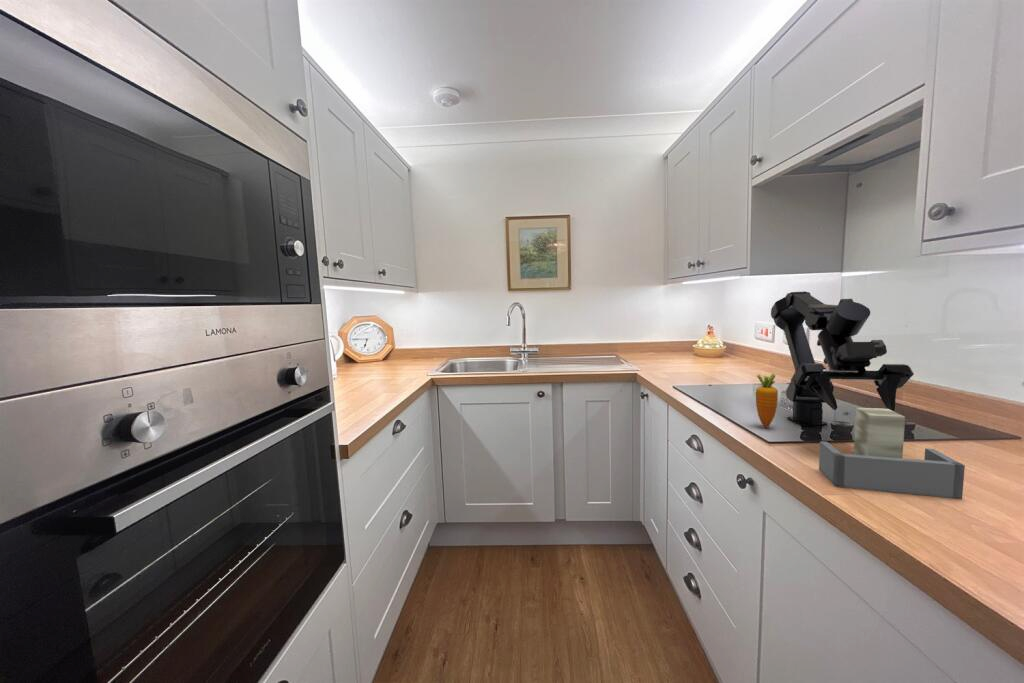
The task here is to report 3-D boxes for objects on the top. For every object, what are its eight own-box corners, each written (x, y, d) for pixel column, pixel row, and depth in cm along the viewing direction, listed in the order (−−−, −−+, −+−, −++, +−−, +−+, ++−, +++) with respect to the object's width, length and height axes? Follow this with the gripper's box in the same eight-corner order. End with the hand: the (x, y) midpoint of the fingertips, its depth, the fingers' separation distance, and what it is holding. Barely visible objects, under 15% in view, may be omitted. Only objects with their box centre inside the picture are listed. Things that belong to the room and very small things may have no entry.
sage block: (852, 469, 75) (855, 407, 73) (884, 472, 73) (888, 408, 72) (866, 481, 70) (870, 415, 69) (900, 484, 68) (905, 416, 67)
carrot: (750, 426, 101) (751, 373, 99) (762, 423, 103) (763, 371, 101) (769, 432, 96) (770, 376, 95) (781, 428, 98) (783, 373, 96)
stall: (818, 469, 75) (820, 441, 75) (931, 479, 69) (933, 448, 69) (835, 486, 69) (837, 455, 68) (962, 498, 63) (964, 465, 62)
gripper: (800, 328, 82) (821, 388, 73) (910, 325, 75) (948, 391, 66) (787, 357, 90) (803, 414, 81) (885, 357, 83) (915, 419, 74)
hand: (863, 410), depth 75 cm, fingers open, 9 cm apart
